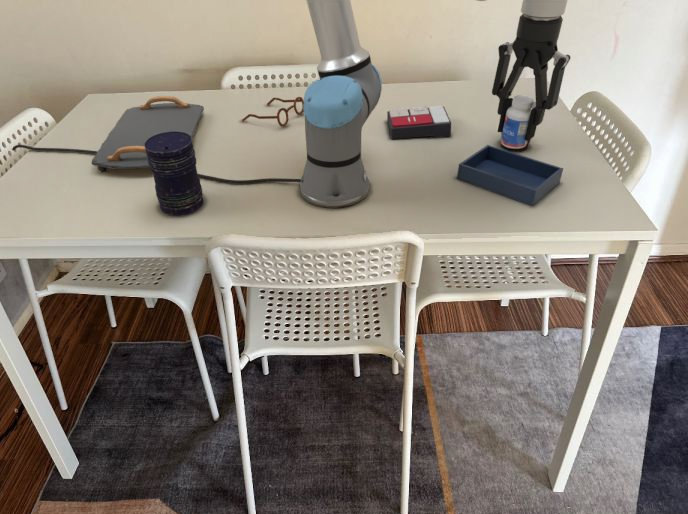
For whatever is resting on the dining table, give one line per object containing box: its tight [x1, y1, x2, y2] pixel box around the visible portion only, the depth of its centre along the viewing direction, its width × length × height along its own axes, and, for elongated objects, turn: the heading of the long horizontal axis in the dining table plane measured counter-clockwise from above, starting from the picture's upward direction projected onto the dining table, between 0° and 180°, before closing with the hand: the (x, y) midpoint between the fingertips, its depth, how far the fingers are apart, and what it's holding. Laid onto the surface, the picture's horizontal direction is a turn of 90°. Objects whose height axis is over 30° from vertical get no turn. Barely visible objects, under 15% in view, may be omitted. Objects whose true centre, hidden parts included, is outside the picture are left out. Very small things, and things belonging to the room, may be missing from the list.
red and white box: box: [386, 105, 452, 140], centre depth 145 cm, size 11×4×15 cm
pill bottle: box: [500, 94, 535, 149], centre depth 115 cm, size 6×5×10 cm
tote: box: [456, 144, 564, 207], centre depth 123 cm, size 18×12×4 cm
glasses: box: [241, 96, 304, 128], centre depth 156 cm, size 13×13×5 cm
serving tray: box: [91, 95, 205, 173], centre depth 147 cm, size 39×23×6 cm, turn 178°
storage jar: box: [144, 131, 205, 217], centre depth 119 cm, size 10×10×15 cm
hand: (515, 133), depth 117 cm, fingers closed on pill bottle, 5 cm apart
